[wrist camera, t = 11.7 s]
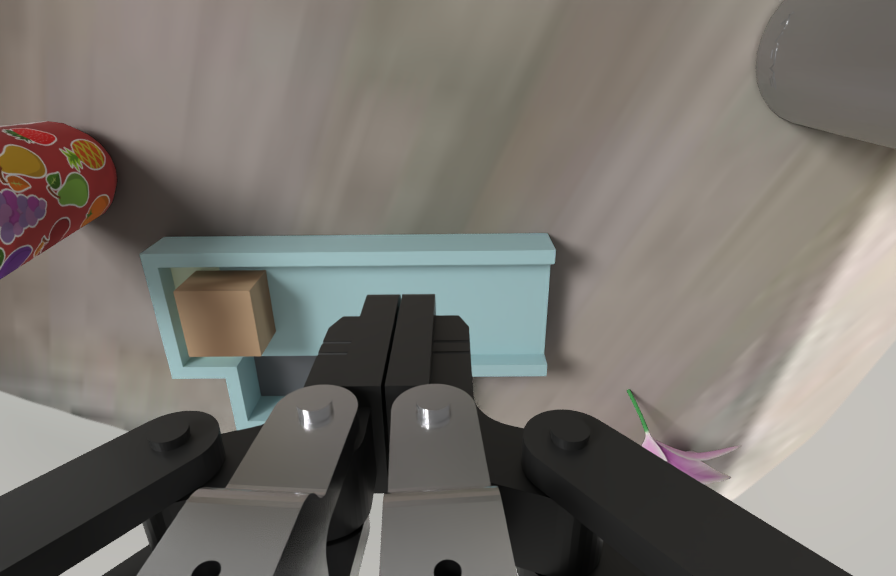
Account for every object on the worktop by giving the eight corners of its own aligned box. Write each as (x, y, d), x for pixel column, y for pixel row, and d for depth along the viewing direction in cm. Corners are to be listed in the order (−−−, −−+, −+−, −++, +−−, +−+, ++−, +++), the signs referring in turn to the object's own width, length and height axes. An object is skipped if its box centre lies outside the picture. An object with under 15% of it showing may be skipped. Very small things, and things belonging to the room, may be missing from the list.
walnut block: (266, 270, 39) (249, 290, 36) (276, 331, 41) (261, 356, 38) (195, 270, 39) (173, 291, 36) (209, 332, 41) (189, 356, 38)
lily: (541, 439, 49) (584, 552, 43) (590, 368, 40) (652, 495, 34) (652, 420, 53) (706, 521, 47) (720, 351, 44) (796, 464, 38)
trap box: (547, 233, 40) (555, 250, 36) (536, 402, 46) (542, 429, 43) (164, 236, 40) (139, 254, 37) (204, 404, 46) (186, 431, 43)
